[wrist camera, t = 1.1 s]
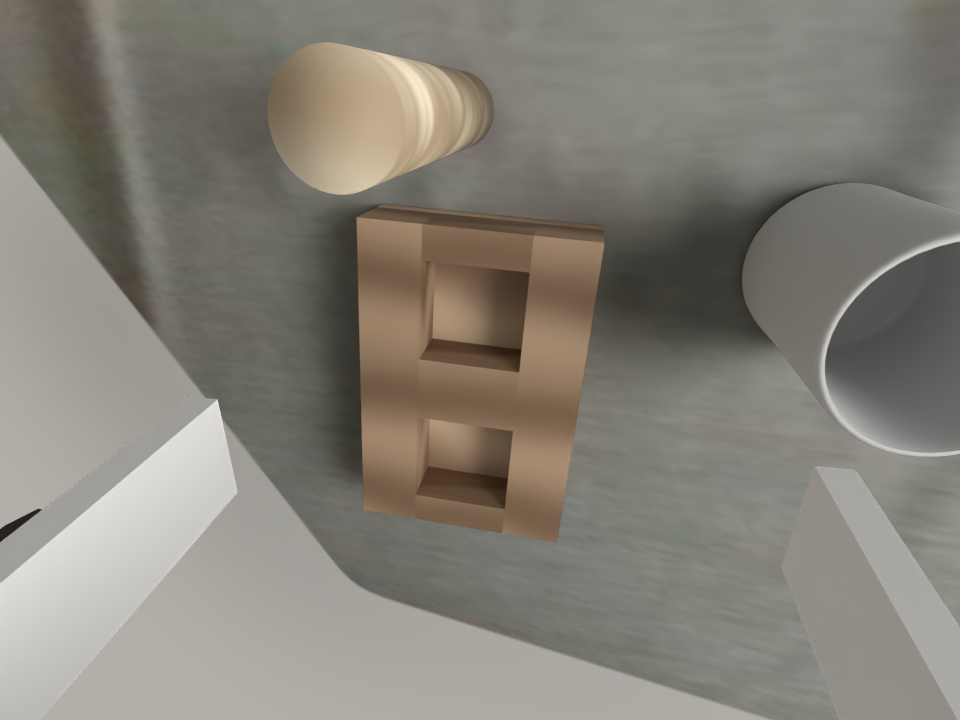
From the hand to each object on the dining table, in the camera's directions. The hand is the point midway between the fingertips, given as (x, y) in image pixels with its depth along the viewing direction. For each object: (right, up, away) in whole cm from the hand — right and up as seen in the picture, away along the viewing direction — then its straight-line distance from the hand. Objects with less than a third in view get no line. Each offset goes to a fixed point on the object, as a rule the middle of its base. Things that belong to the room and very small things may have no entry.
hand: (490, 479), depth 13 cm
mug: (+19, +8, +16) cm, 26 cm away
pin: (-1, +15, +16) cm, 22 cm away
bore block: (0, +2, +22) cm, 22 cm away
